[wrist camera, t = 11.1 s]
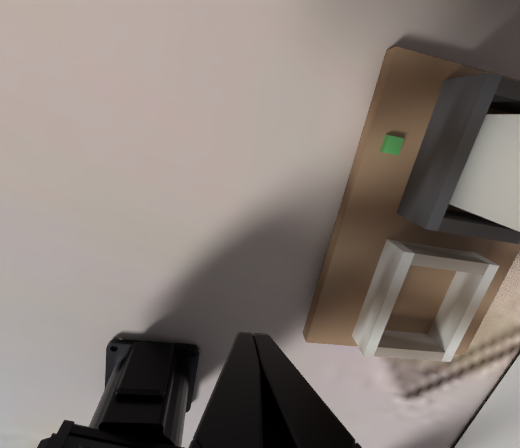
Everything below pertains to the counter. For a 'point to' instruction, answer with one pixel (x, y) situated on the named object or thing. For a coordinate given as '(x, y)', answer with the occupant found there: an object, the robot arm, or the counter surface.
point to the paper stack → (497, 416)
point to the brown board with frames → (415, 218)
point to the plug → (493, 172)
